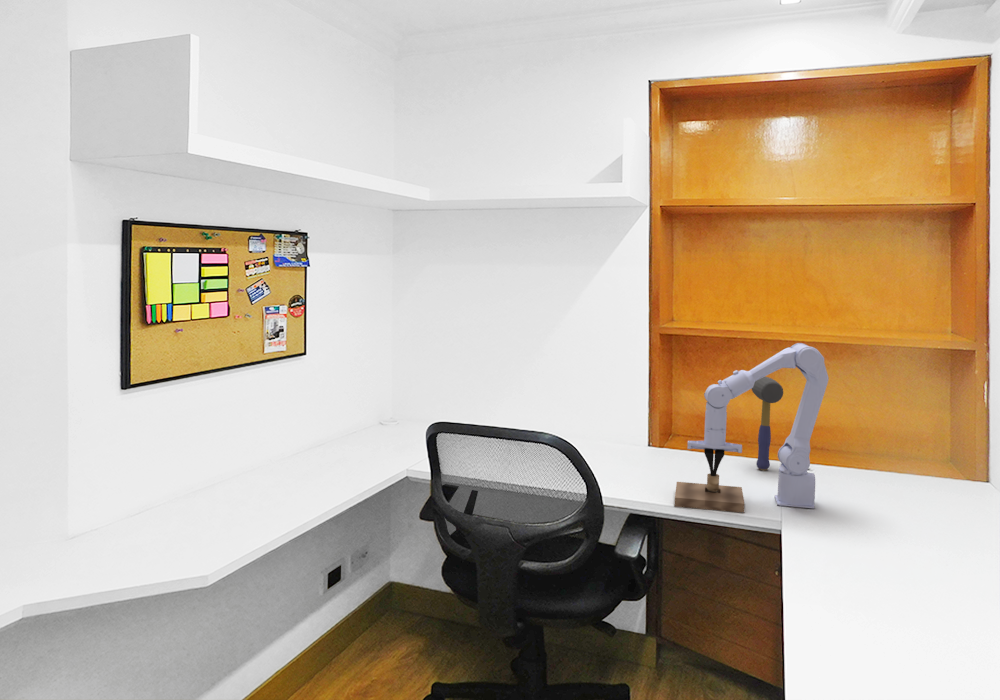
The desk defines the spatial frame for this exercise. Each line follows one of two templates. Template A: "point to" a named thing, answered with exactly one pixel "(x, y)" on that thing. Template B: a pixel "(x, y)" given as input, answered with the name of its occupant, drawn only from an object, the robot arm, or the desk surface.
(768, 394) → the rubber mallet
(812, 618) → the desk surface
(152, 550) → the desk surface
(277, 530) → the desk surface
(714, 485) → the peg
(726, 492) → the board
